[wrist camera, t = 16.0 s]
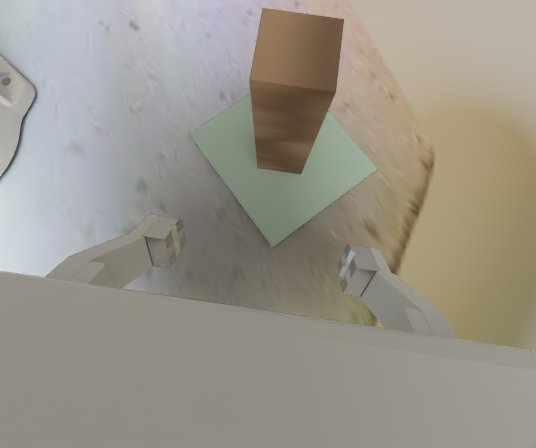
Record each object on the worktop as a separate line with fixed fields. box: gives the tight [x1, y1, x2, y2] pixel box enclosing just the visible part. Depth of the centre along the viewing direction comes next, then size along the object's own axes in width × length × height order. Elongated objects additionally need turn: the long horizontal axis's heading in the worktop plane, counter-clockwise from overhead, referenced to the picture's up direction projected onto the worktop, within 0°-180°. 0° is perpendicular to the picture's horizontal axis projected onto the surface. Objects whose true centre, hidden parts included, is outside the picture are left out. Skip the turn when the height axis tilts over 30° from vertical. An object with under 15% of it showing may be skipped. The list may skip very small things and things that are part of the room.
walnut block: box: [249, 8, 344, 174], centre depth 15 cm, size 4×4×10 cm
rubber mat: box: [189, 94, 378, 247], centre depth 21 cm, size 13×12×1 cm
